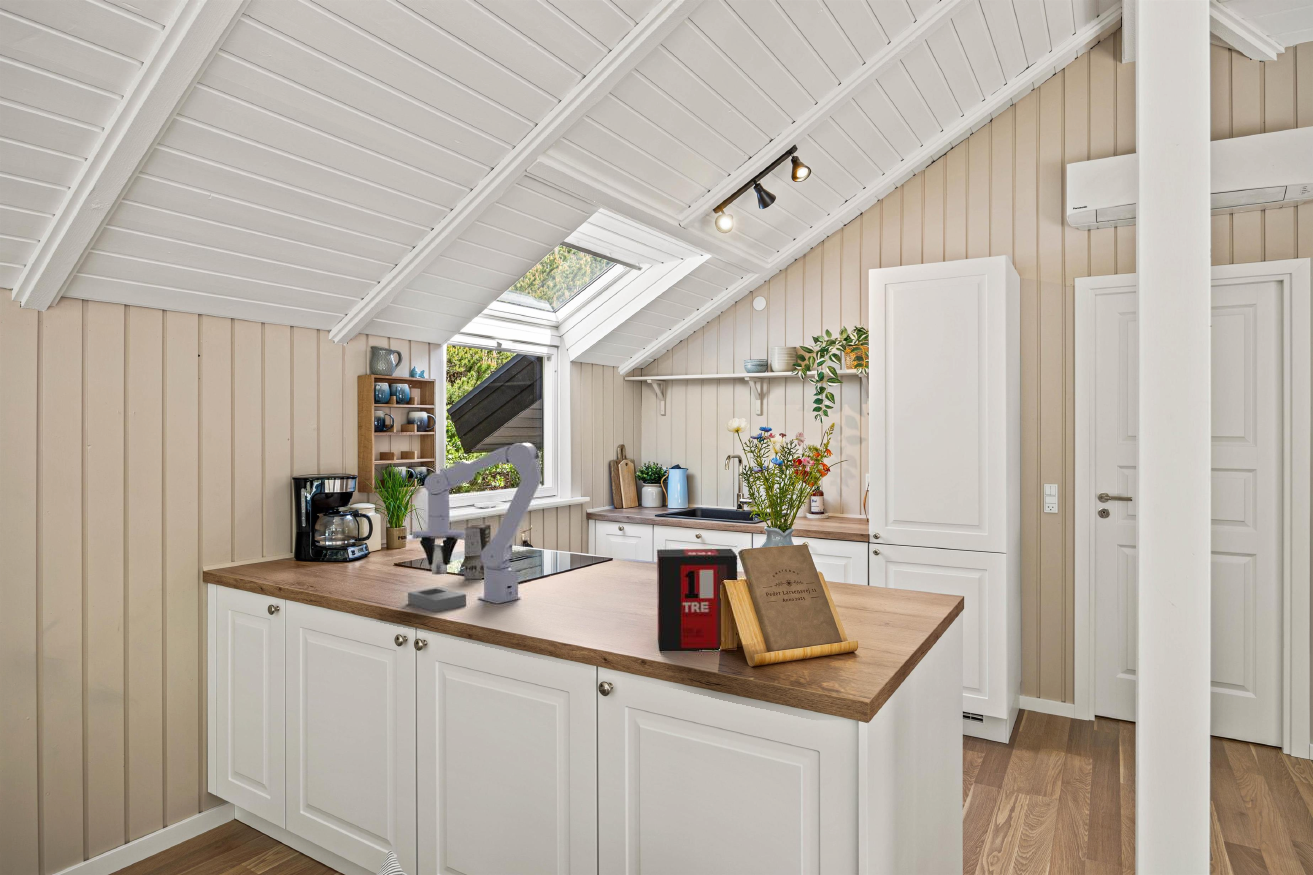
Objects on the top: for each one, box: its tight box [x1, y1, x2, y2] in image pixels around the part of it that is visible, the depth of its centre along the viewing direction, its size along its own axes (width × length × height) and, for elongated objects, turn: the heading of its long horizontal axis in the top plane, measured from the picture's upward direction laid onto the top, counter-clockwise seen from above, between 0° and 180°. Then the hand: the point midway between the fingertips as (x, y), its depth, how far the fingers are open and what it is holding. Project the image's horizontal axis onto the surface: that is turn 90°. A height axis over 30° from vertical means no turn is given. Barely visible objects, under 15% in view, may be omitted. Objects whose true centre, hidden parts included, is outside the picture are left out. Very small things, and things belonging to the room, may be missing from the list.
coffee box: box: [464, 524, 492, 580], centre depth 225 cm, size 9×6×16 cm
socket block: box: [407, 586, 467, 613], centre depth 188 cm, size 14×9×3 cm, turn 48°
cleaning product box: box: [656, 548, 738, 652], centre depth 151 cm, size 16×9×20 cm, turn 92°
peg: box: [431, 543, 448, 576], centre depth 195 cm, size 4×4×8 cm
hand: (439, 564), depth 195 cm, fingers closed on peg, 4 cm apart
